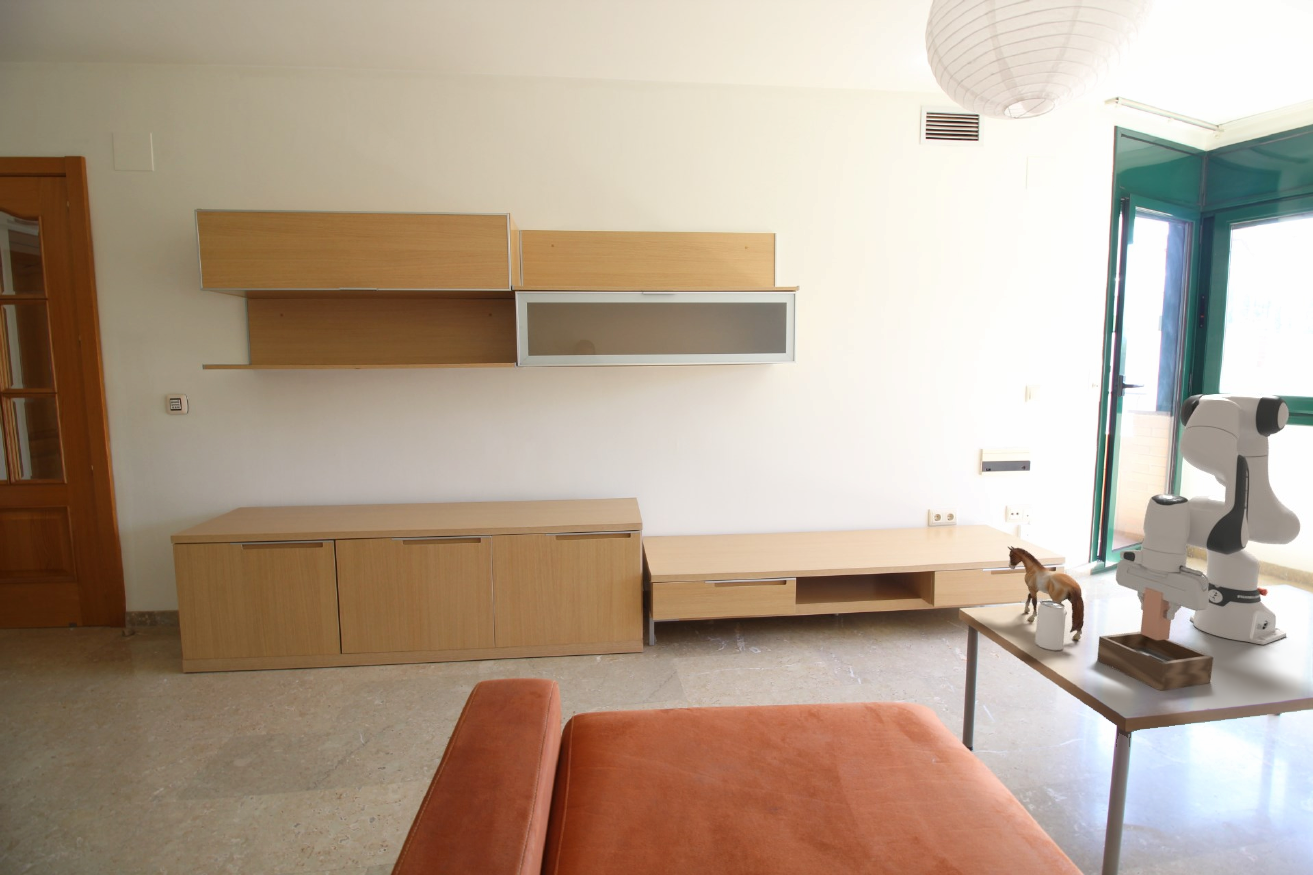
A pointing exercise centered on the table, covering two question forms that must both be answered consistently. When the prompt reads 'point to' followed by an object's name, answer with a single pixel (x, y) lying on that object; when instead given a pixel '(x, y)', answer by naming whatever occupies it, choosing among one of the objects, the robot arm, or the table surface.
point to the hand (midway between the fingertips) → (1157, 614)
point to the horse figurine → (1049, 587)
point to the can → (1050, 625)
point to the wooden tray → (1155, 660)
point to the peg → (1155, 616)
